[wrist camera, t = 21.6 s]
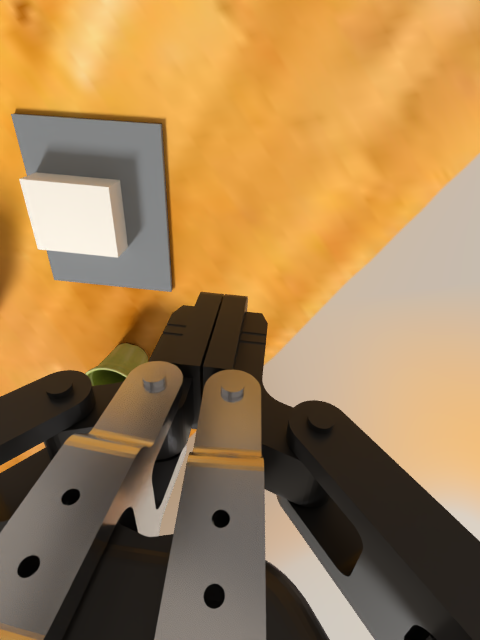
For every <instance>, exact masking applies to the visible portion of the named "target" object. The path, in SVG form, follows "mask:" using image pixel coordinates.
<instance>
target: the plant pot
mask: <svg viewBox="0 0 480 640" xmlns="http://www.w3.org/2000/svg"><path fill="white" fill-rule="evenodd" d="M147 362H148V357H147V354H146V353H145V352H144V350H143V349H141V348H140V347H138V346H136V345H131V344H129V343H123V344H120V345H118V346H117V347H116V348H115V349H114V350H113V351H112V352H111V353H110V354H109V355H108V356H107V357H106V358H105V359H104V360H103V361H102V362H101V363H100V364H99V365H98V366H96V367H95V368H93V369H91V370H89V371H88V372H86V373H85V374H86V375H87V376H88V377H89V378H90V380H91V383H92V386H96V385H105V384H113V383H119V382H123V381H124V380H125V379H126V377H127V376H128V374H129V373H130V372H131V371H132V370H133V369H134V368H136V367H137V366H139V365H141V364H144V363H147Z"/></svg>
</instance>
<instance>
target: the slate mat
mask: <svg viewBox="0 0 480 640" xmlns="http://www.w3.org/2000/svg"><path fill="white" fill-rule="evenodd" d="M11 116H12V119H13V123H14V127H15V131H16V135H17V139H18V142H19V146H20V150H21V154H22V158H23V162H24V165H25V169H26V173H27V176H28V175H31V174H33V173H36V172H37V173H48V174H60V175H71V176H82V177H93V178H104V179H115V180H120V185H121V193H122V202H123V210H124V218H125V226H126V235H127V243H128V248H127V249H126V250H125V251H124V252H123V253H122V254H121V255H120V256H119V257H118V258H117V257H107V256H98V255H88V254H79V253H69V252H60V251H50V250H47V254H48V257H49V261H50V265H51V269H52V273H53V277H54V280H61V281H70V282H80V283H90V284H100V285H110V286H119V287H129V288H139V289H149V290H159V291H169V292H171V291H172V278H171V261H170V245H169V229H168V213H167V197H166V181H165V165H164V149H163V133H162V124H157V123H143V122H128V121H114V120H100V119H85V118H71V117H56V116H42V115H28V114H11Z"/></svg>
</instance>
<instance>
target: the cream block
mask: <svg viewBox="0 0 480 640" xmlns="http://www.w3.org/2000/svg"><path fill="white" fill-rule="evenodd" d="M19 180H20V183H21V187H22V191H23V195H24V198H25V202H26V206H27V210H28V214H29V217H30V221H31V225H32V229H33V232H34V236H35V240H36V244H37V247H38V249H40V250H50V251H60V252H69V253H79V254H88V255H98V256H107V257H117V258H118V257H119V256H120V255H121V254H122V253H123V252H124V251H125V250H126V249H127V248H128V243H127V235H126V226H125V218H124V210H123V202H122V193H121V185H120V180H115V179H104V178H93V177H82V176H71V175H60V174H48V173H37V172H36V173H33V174H31V175H28V176H26V177H23V178H21V179H19Z"/></svg>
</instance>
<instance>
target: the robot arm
mask: <svg viewBox="0 0 480 640" xmlns="http://www.w3.org/2000/svg"><path fill="white" fill-rule="evenodd" d="M247 302H248V297H247V296H237V295H227V294H225V295H224V294H217V293H207V292H201V293H200V295H199V297H198V299H197V302H196V304H195V307H194V306H184V305H183V306H182V307H180V308H179V309H178V310H176V311H175V312H174V313H172V315H171V317H170V319H169V321H168V323H167V326H166V327H165V329H164V331H163V334H162V335H161V337H160V339H159V341H158V343H157V345H156V347H155V349H154V351H153V353H152V355H151V357H150V359H149V361H148V362H147V363H144V364H141V365H139V366H137V367H136V368H134V369H133V370H132V371H131V372H130V373H129V374H128V376H127V377H126V379H125V380H124V381H123V382H119V383H113V384H105V385H96V386H92V383H91V380H90V378H89V377H88V376H87V375H86V374H84V373H82V372H79V371H72V370H67V371H60V372H56V373H53V374H50V375H48V376H45V377H43V378H41V379H39V380H36V381H34V382H32V383H30V384H28V385H25V386H23V387H21V388H19V389H17V390H14V391H12V392H10V393H8V394H6V395H3V396H1V397H0V465H2V464H4V463H6V462H7V461H9V460H11V459H13V458H15V457H16V456H18V455H20V454H22V453H24V452H25V451H27V450H29V449H31V448H33V447H35V446H36V445H38V444H40V443H42V442H44V444H45V447H46V448H44V449H42V450H41V451H39V452H37V453H35V454H33V455H32V456H30V457H28V458H26V459H25V460H23V461H21V462H19V463H18V464H16V465H14V466H12V467H11V468H9V469H7V470H5V471H3V472H2V473H0V640H330V639H329V638H328V636H327V634H326V633H325V631H324V629H323V628H322V626H321V624H320V622H319V621H318V619H317V618H316V616H315V614H314V612H313V611H312V609H311V607H310V606H309V604H308V602H307V601H306V599H305V598H304V597H303V595H302V594H301V593H300V591H299V590H298V589H297V587H296V586H295V585H294V584H293V583H292V582H291V581H290V580H289V579H288V578H287V576H286V575H284V574H283V573H282V572H281V571H279V570H278V569H277V568H276V567H275V566H273V565H272V564H271V563H269V562H267V561H266V560H265V504H264V501H265V500H264V499H265V498H264V489H266V490H268V491H270V492H272V493H274V494H276V495H277V499H278V501H279V503H280V505H281V507H282V508H283V510H284V511H285V513H286V514H287V515H288V517H289V518H290V520H291V521H292V522H293V524H294V525H295V527H296V528H297V530H298V531H299V532H300V534H301V535H302V536H303V538H304V539H305V541H306V542H307V544H308V545H309V546H310V548H311V549H312V551H313V552H314V554H315V555H316V557H317V558H318V559H319V561H320V562H321V564H322V565H323V566H324V568H325V569H326V571H327V572H328V574H329V575H330V576H331V578H332V579H333V581H334V582H335V584H336V585H337V586H338V588H339V589H340V591H341V592H342V594H343V595H344V596H345V598H346V599H347V601H348V602H349V603H350V605H351V606H352V607H353V609H354V611H355V612H356V613H357V615H358V616H359V618H360V619H361V621H362V622H363V623H364V625H365V626H366V628H367V629H368V630H369V632H370V633H371V635H372V636H373V638H374V639H375V640H480V541H479V540H478V539H477V538H475V537H474V536H473V535H472V534H471V533H470V532H469V531H468V530H467V529H466V528H465V527H464V526H463V525H462V524H460V522H459V521H457V520H456V519H455V518H454V517H453V516H452V515H451V514H450V513H449V512H448V511H447V510H446V509H445V508H444V507H443V506H442V505H441V504H439V503H438V502H437V501H436V500H435V499H434V498H433V497H432V496H431V495H430V494H429V493H428V492H427V491H426V490H425V489H424V488H423V487H421V486H420V485H419V484H418V483H417V482H416V481H415V480H414V479H413V478H412V477H411V476H410V475H409V474H408V473H407V472H406V471H405V470H404V469H402V468H401V467H400V466H399V465H398V464H397V463H396V462H395V461H394V460H393V459H392V458H391V457H390V456H389V455H388V454H387V453H386V452H384V451H383V450H382V449H381V448H380V447H379V446H378V445H377V444H376V443H375V442H374V441H373V440H372V439H371V438H370V437H369V436H367V435H366V434H365V433H364V432H363V431H362V430H361V429H360V428H359V427H358V426H357V425H356V424H355V423H354V422H353V421H351V419H350V418H348V417H347V416H346V415H345V414H344V413H343V412H342V411H341V410H340V409H338V408H337V407H335V406H333V405H331V404H329V403H326V402H322V401H306V402H302V403H300V404H298V405H296V406H295V407H294V408H293V407H290V406H288V405H285V404H283V403H281V402H279V401H277V400H275V399H274V398H273V397H271V396H270V395H269V394H268V393H267V391H266V390H265V388H264V386H263V383H262V375H263V365H264V355H265V345H266V335H267V325H268V323H267V321H266V320H265V318H264V316H263V314H262V313H252V312H247ZM191 428H192V429H197V431H196V437H195V443H194V448H193V452H190V453H189V456H188V460H187V464H186V470H185V475H184V481H183V486H182V491H181V497H180V502H179V508H178V514H177V519H176V524H175V530H174V534H171V535H163V536H159V532H160V525H161V521H162V517H163V514H164V511H165V508H166V506H167V503H168V500H169V498H170V495H171V492H172V490H173V487H174V484H175V482H176V479H177V476H178V474H179V471H180V468H181V465H182V463H183V460H184V457H185V455H186V448H187V447H186V444H187V441H188V438H189V434H190V431H191Z"/></svg>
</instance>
